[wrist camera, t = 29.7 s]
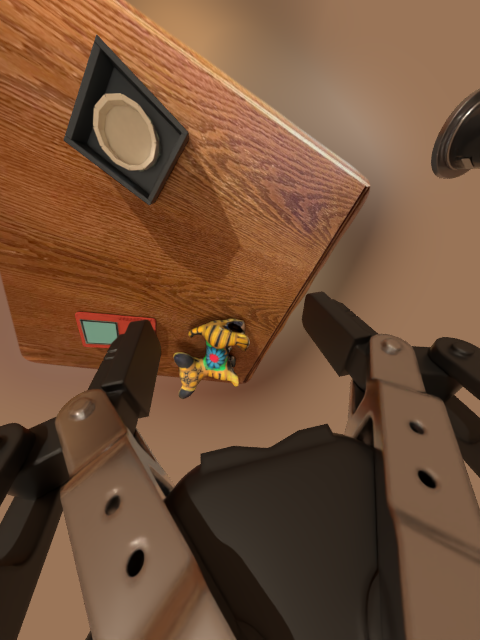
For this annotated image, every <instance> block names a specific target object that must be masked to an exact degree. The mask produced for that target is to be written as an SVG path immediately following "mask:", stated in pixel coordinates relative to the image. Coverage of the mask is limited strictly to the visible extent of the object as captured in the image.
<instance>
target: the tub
mask: <svg viewBox="0 0 480 640" xmlns="http://www.w3.org/2000/svg"><path fill="white" fill-rule="evenodd" d="M114 93H121V94H123V95H125V96H127V97H128V98H130V99H131V100H133V101H134V102H136V103H138V104H139V105H140V106H141V108H142V109H143V110H144V112H145V113H146V115H147V116H148V117H149V118H150V119H151V120H152V122H153V123H154V125H155V128H156V130H157V132H158V134H159V137H160V140H161V157H160V160H159V162H158V164H157V165H156V166H155V167H154V168H153V169H151V170H148V171H146V172H141V171H131V170H128V169H126V168H124V167H122V166H120V165H118V164H116V163H115V162H113V161H112V160H111V158H110V157H109V156H108V155H107V154H106V153H105V151H104V150H103V149H102V147H101V146H100V144H99V141H98V139H97V136H96V133H95V131H94V128H93V127H94V126H93V114H94V108H95V105H96V103H97V102H98V101H99V100H100V99H101V97H102V96H103V95H105V94H114ZM105 96H106V95H105ZM65 135H66V136H65V137H64V141H65V142H66V143H68V144H69V145H70V146H72V147H73V148H74V149H76V150H77V151H78V152H80V153H81V154H82V155H83V156H85V157H86V158H87V159H89V160H90V161H91V162H93V163H94V164H95V165H97V166H98V167H99V168H101V169H102V170H103V171H105V172H106V173H107V174H109V175H110V176H111V177H112V178H114V179H115V180H116V181H118V182H119V183H120V184H122V185H123V186H124V187H126V188H127V189H128V190H130V191H131V192H132V193H134V194H135V195H136V196H138V197H139V198H140V199H142V200H143V201H144V202H145V203H147V204H148V205H151V204H153V203H155V201H156V200H157V198H158V196H159V194H160V192H161V190H162V188H163V187H164V185H165V183H166V181H167V179H168V177H169V176H170V174H171V172H172V170H173V168H174V166H175V164H176V163H177V161H178V159H179V157H180V155H181V153H182V151H183V150H184V148H185V146H186V144H187V142H188V140H189V133H188V131H187V130H186V129H185V128H184V127H183V126H182V125H181V124H180V123H179V122H178V121H177V120H176V118H175V117H174V116H173V115H172V114H171V113H170V112H169V111H168V110H167V109H166V108H165V107H164V106H163V105H162V104H161V102H160V101H159V100H158V99H157V98H156V97H155V96H154V95H153V94H152V93H151V92H150V91H149V90H148V89H147V88H146V86H145V85H144V84H143V83H142V82H141V81H140V80H139V79H138V78H137V77H136V76H135V75H134V74H133V73H132V72H131V70H130V69H129V68H128V67H127V66H126V65H125V64H124V63H123V62H122V61H121V60H120V59H119V58H118V57H117V56H116V54H115V53H114V52H113V51H112V50H111V49H110V48H109V47H108V46H107V45H106V44H105V43H104V42H103V41H102V40H101V38H100V37H99V36H98V35H96V37H95V41H94V44H93V47H92V50H91V54H90V57H89V60H88V63H87V67H86V70H85V73H84V76H83V79H82V83H81V86H80V89H79V92H78V96H77V99H76V102H75V105H74V108H73V112H72V115H71V118H70V121H69V125H68V128H67V131H66V134H65Z"/></svg>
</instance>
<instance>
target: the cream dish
mask: <svg viewBox="0 0 480 640" xmlns="http://www.w3.org/2000/svg"><path fill="white" fill-rule="evenodd" d="M105 95H106V96H105ZM105 95H103V96H102V97H101V99H100V100H99V101H98V102H97V103H96V105H95V108H94V114H93V126H94V127H93V128H94V131H95V133H96V136H97V139H98V141H99V144H100V146H101V147H102V149H103V150H104V151H105V153H106V154H107V155H108V156H109V157H110V158H111V160H112V161H113V162H115V163H116V164H118V165H120V166H122V167H124V168H126V169H128V170H131V171H143V170H146V169H147V170H148V169H149V168H150V167H151V166H152V165H153V164H154V163H155V162H156V159H157V157H158V152H159V142H158V137H157V133H156V130H155V127H154V125H153V124H152V122H151V121H150V119H149V118H148V116H147V115H146V113H145V112H144V110H143V109H142V108H141V106H140V105H139V104H138V103H136V102H134V101H133V100H131V99H130V98H128V97H127V96H125V95H123V94H121V93H114V94H105Z"/></svg>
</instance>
